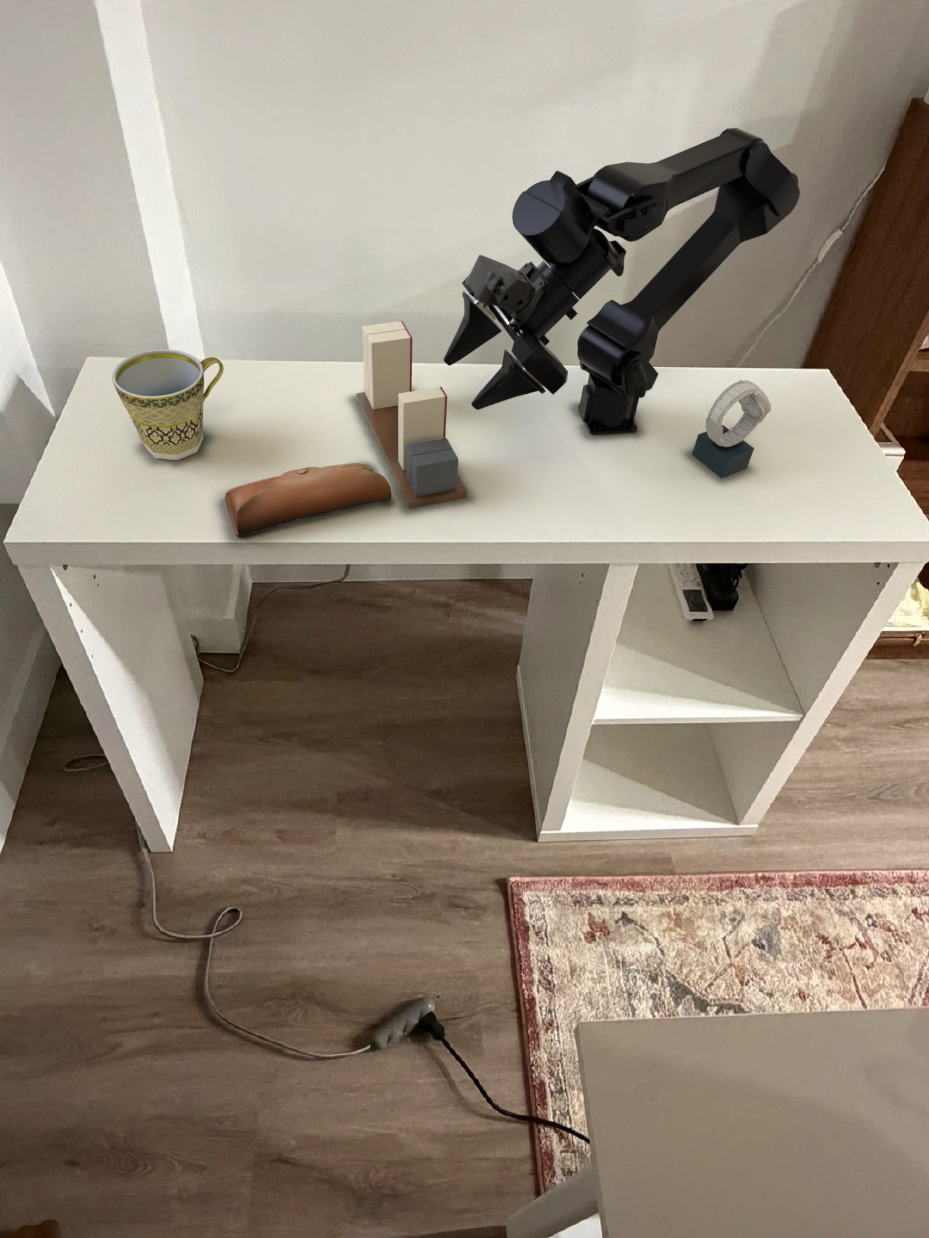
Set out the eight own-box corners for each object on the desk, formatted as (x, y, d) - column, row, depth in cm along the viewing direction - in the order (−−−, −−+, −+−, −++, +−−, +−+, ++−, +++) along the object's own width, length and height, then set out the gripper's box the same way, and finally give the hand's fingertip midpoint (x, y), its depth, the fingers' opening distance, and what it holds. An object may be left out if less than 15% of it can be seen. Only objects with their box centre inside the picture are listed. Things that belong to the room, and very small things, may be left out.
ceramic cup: (157, 480, 101) (138, 408, 93) (117, 439, 105) (96, 366, 98) (253, 440, 107) (242, 369, 99) (211, 402, 111) (198, 332, 104)
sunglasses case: (367, 459, 105) (376, 436, 98) (385, 512, 104) (395, 493, 97) (219, 492, 99) (218, 470, 93) (237, 549, 98) (237, 531, 92)
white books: (402, 386, 115) (402, 320, 108) (411, 403, 112) (412, 337, 105) (364, 392, 113) (362, 326, 106) (373, 410, 111) (371, 343, 104)
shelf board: (408, 391, 116) (408, 385, 115) (466, 497, 102) (467, 491, 101) (356, 399, 114) (356, 393, 113) (408, 508, 100) (408, 502, 99)
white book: (438, 453, 105) (441, 386, 98) (444, 463, 104) (447, 396, 97) (398, 460, 104) (398, 393, 97) (403, 471, 103) (403, 403, 96)
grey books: (445, 468, 104) (446, 437, 100) (456, 489, 101) (458, 458, 98) (405, 475, 102) (405, 444, 99) (416, 497, 100) (416, 466, 96)
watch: (757, 464, 109) (786, 389, 101) (711, 483, 106) (737, 407, 98) (726, 440, 112) (752, 365, 104) (681, 458, 109) (704, 382, 101)
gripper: (485, 194, 92) (387, 303, 98) (556, 276, 81) (441, 394, 86) (542, 258, 100) (449, 356, 106) (614, 340, 89) (506, 445, 94)
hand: (459, 384), depth 98 cm, fingers open, 9 cm apart
